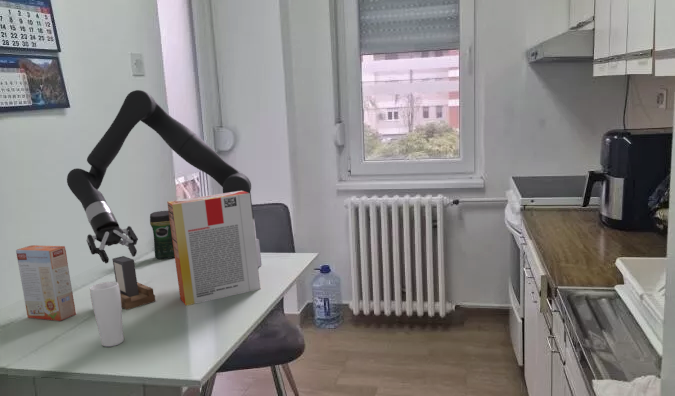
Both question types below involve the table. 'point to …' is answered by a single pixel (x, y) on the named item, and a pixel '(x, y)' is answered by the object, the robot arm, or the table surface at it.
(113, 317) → the drinking glass
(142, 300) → the wooden channel tray
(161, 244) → the coffee jar
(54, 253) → the cracker box
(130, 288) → the dark grey block
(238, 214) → the pasta box
